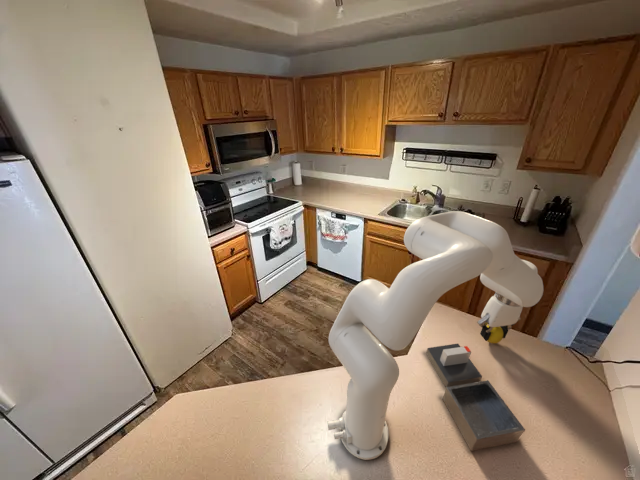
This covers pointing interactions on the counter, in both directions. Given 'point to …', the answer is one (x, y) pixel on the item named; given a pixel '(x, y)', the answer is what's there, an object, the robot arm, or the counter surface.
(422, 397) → the counter surface
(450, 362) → the white block red stripe
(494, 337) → the lemon
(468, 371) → the sink deck
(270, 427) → the counter surface
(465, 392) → the basin
